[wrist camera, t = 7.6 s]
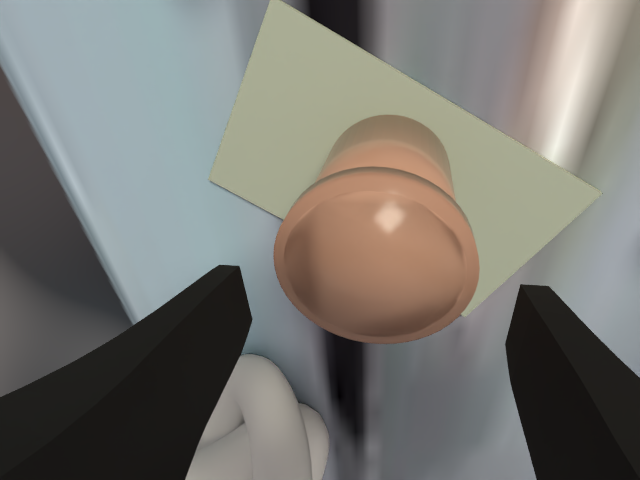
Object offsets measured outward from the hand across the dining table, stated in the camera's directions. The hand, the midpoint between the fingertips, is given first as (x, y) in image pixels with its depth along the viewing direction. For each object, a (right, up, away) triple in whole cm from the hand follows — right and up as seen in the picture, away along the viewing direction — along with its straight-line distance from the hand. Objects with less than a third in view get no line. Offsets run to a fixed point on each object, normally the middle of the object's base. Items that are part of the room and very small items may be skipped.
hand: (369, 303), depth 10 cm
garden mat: (+1, +4, +6) cm, 8 cm away
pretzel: (-5, -10, +17) cm, 20 cm away
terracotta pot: (+1, +4, +6) cm, 7 cm away
